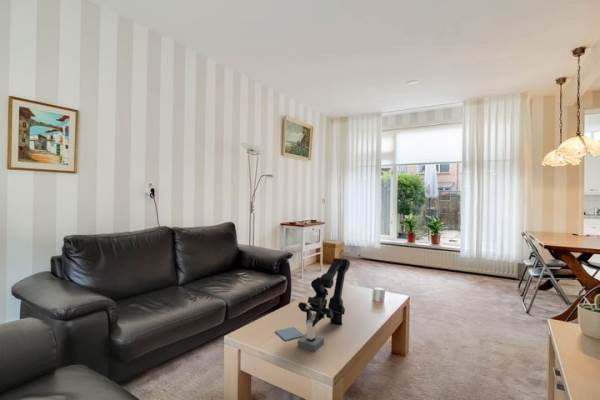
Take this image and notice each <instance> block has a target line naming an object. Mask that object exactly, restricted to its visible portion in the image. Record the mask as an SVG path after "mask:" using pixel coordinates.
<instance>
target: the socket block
mask: <svg viewBox="0 0 600 400" xmlns="http://www.w3.org/2000/svg"><path fill="white" fill-rule="evenodd" d="M324 344H325V338H324V337H322V336H321V337H320V336H318V335H315V337H314V338H313V339H308V338H307V333H305V334H304V336H303V337H300V338H298V340H297V347H298V348H301V349H305V350H307V351H309V352H313V353H316V352H317V351H318V350H319V349H320V348H321V347H322V346H323V345H324Z"/></svg>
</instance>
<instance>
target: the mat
mask: <svg viewBox="0 0 600 400" xmlns="http://www.w3.org/2000/svg"><path fill="white" fill-rule="evenodd" d="M274 333H276V335H278V336H279V337H280V338H281V339H283V340H284V341H285V342H287V341H291V340H295V339H301V338H302V337H303V336H304V335H305V334H304V333H303V332H301V331H300V330H299V329H297V328H296V327H295V326H291V327H287V328H282V329H278V330H275V331H274Z"/></svg>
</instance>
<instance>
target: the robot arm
mask: <svg viewBox="0 0 600 400" xmlns="http://www.w3.org/2000/svg"><path fill="white" fill-rule="evenodd" d="M350 266H351V261H350V260H349V259H348V258H342V257H334V258H333V260H332V262H331V265H330V266H329V268H328V270H327V271H326V273H323V274H322V275H321V276H320V277H318V276H317V277H316V278H315V279H313V280H312V281H311V283H310V286H311V288H312V289H313V291H314V292H315V295H314V296H313V297H312V296H308V299H307V303H306V302H302V301H299V303H298V305H297V307H298V309H299V310H300V312H303V313H306V318H305V319H306V320H305V323H306V325H307V320H309V319H312V317H313V313H312V312H315V317H314V319H313V320H314V321H313V324H312V326H313V327H314V326H315V327H316V325H317V324H318V323H319V322H320V321H321V320H322V319H325V317H326V318H327V319H329V320H330V323H331V325H341V326H342V325H343V315H345V312H346V308H345V306H344V301H343V298H342V295H343V289H344V282H345V281H344V280H345V276H346V273H347V272H348V271H349V269H350ZM335 276H336V279H335V284H334V278H335ZM332 287H334V292H333V295H332V296H331V297H330V298H329V302H328V306H327V307H326V308H323V310H322V307H323V305H324V304H325V303H324V301H325V299H327V297H328V296H329V292H328V289H329V290H330V289H332ZM308 304H309V305H308Z"/></svg>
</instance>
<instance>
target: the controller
mask: <svg viewBox="0 0 600 400" xmlns="http://www.w3.org/2000/svg"><path fill="white" fill-rule="evenodd" d="M324 303H325V304H324V305H323V307H322V310H323V308H327V303H328V299H327V298H326V299H325V301H324Z"/></svg>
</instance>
